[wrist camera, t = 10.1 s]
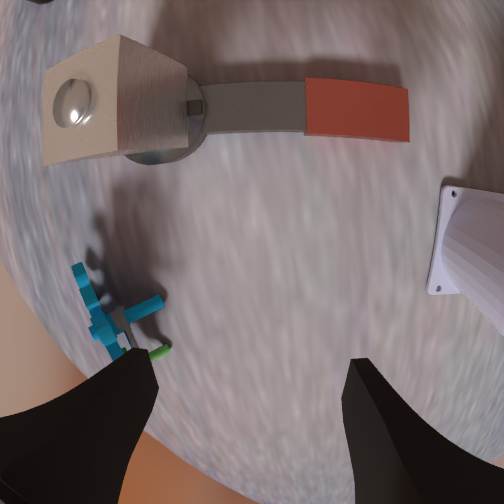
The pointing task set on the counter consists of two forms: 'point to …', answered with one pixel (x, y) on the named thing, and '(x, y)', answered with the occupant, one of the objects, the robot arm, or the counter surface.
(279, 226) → the counter surface
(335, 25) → the counter surface
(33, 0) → the supplement bottle
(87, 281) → the gear
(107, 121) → the socket
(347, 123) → the ratchet
